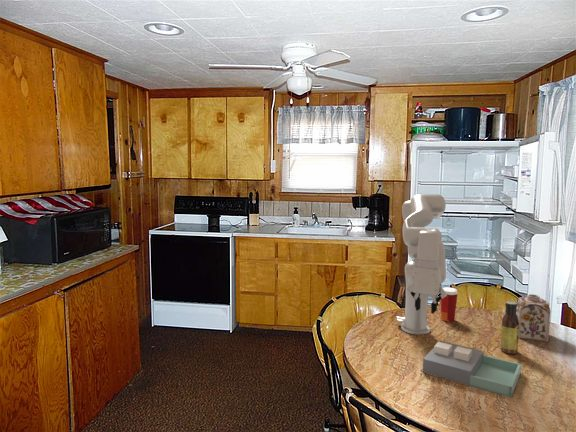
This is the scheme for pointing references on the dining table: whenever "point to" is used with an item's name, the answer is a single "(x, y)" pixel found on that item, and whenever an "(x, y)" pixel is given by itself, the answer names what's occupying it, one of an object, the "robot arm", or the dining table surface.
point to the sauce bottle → (510, 329)
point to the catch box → (497, 376)
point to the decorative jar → (533, 318)
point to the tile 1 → (443, 348)
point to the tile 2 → (462, 353)
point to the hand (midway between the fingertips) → (425, 310)
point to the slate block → (453, 365)
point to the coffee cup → (449, 304)
